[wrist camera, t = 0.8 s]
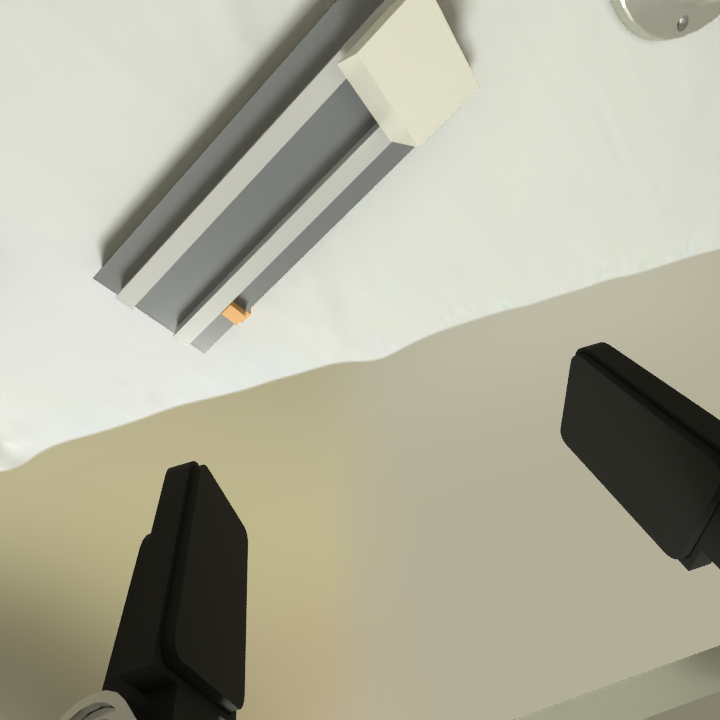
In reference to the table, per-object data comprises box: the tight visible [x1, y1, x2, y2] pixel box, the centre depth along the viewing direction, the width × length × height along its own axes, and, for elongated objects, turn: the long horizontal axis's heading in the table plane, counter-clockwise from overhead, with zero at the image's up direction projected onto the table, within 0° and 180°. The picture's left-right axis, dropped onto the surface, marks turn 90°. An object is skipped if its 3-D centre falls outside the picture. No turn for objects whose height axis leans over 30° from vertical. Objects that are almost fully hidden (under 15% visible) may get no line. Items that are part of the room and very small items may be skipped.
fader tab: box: [337, 0, 480, 147], centre depth 22 cm, size 4×5×7 cm
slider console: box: [93, 0, 414, 353], centre depth 27 cm, size 27×9×4 cm, turn 131°
